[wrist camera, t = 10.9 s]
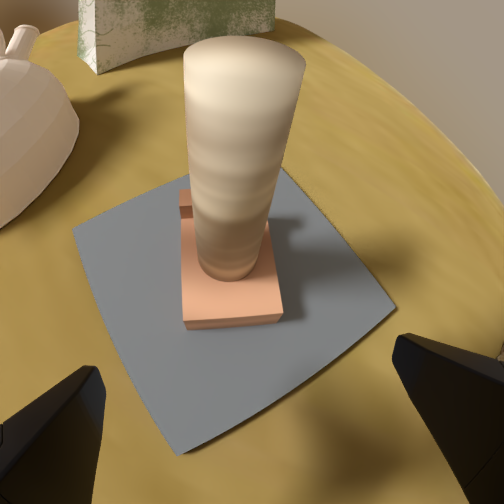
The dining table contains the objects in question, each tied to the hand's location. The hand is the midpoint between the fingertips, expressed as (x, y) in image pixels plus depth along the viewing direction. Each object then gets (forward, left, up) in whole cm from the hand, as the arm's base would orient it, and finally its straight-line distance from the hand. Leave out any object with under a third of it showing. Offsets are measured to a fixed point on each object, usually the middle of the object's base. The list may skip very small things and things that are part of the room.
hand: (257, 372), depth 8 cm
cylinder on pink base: (+6, -3, -8) cm, 10 cm away
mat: (+6, -3, -9) cm, 11 cm away
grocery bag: (+47, -17, -9) cm, 51 cm away
